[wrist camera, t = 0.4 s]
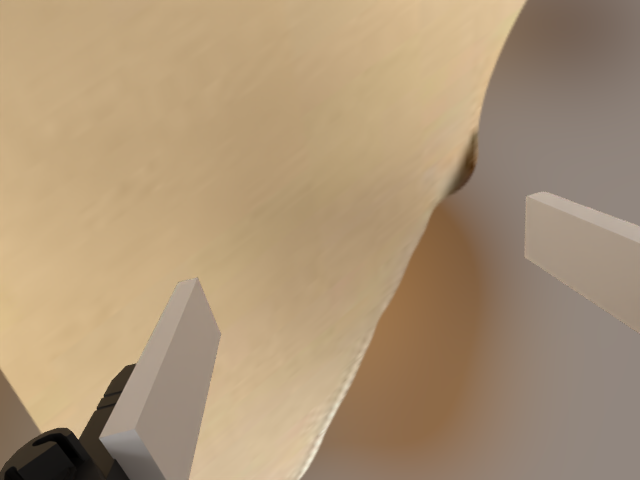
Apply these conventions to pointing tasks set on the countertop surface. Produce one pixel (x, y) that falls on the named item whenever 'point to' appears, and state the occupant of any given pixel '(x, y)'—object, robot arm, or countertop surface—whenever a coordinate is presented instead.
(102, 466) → the robot arm
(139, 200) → the countertop surface
